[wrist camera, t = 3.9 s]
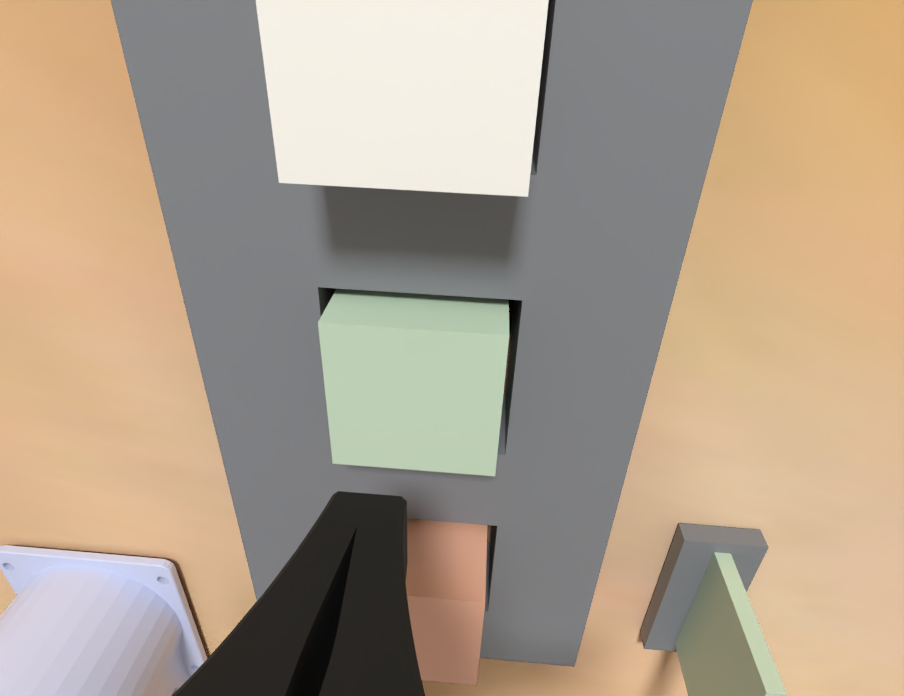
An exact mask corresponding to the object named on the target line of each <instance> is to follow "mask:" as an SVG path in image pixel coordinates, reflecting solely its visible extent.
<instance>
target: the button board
mask: <svg viewBox="0 0 904 696" xmlns="http://www.w3.org/2000/svg"><path fill="white" fill-rule="evenodd" d="M752 1H753V0H549V2H548V12H547V21H546V31H545V40H544V50H543V59H542V69H541V78H540V88H539V97H538V107H537V116H536V126H535V135H534V145H533V154H532V164H531V173H530V183H529V192H528V197H523V196H505V195H487V194H469V193H451V192H433V191H415V190H397V189H379V188H361V187H343V186H325V185H308V184H290V183H279V179H278V171H277V164H276V156H275V148H274V140H273V132H272V124H271V117H270V109H269V101H268V93H267V85H266V78H265V70H264V62H263V54H262V46H261V39H260V31H259V23H258V15H257V7H256V0H111V4H112V8H113V12H114V16H115V20H116V24H117V28H118V32H119V36H120V40H121V45H122V49H123V53H124V57H125V61H126V65H127V69H128V73H129V77H130V82H131V86H132V90H133V94H134V98H135V102H136V106H137V110H138V114H139V119H140V123H141V127H142V131H143V135H144V139H145V143H146V147H147V151H148V155H149V160H150V164H151V168H152V172H153V176H154V180H155V184H156V188H157V192H158V197H159V201H160V205H161V209H162V213H163V217H164V221H165V225H166V229H167V234H168V238H169V242H170V246H171V250H172V254H173V258H174V262H175V266H176V270H177V275H178V279H179V283H180V287H181V291H182V295H183V299H184V303H185V307H186V312H187V316H188V320H189V324H190V328H191V332H192V336H193V340H194V344H195V349H196V353H197V357H198V361H199V365H200V369H201V373H202V377H203V381H204V385H205V390H206V394H207V398H208V402H209V406H210V410H211V414H212V418H213V422H214V427H215V431H216V435H217V439H218V443H219V447H220V451H221V455H222V459H223V464H224V468H225V472H226V476H227V480H228V484H229V488H230V492H231V496H232V500H233V505H234V509H235V513H236V517H237V521H238V525H239V529H240V533H241V537H242V542H243V546H244V550H245V554H246V558H247V562H248V566H249V570H250V574H251V579H252V583H253V587H254V591H255V595H256V599H257V601H258V599H259V598H260V597H261V596H262V595H263V593H264V592H265V591H266V589H267V588H268V587H269V586H270V584H271V583H272V582H273V580H274V579H275V578H276V576H277V575H278V574H279V572H280V571H281V570H282V568H283V567H284V566H285V564H286V563H287V562H288V560H289V559H290V558H291V556H292V555H293V554H294V552H295V551H296V550H297V548H298V547H299V545H300V544H301V543H302V541H303V540H304V538H305V537H306V535H307V534H308V533H309V531H310V530H311V528H312V527H313V525H314V524H315V522H316V521H317V519H318V518H319V516H320V514H321V513H322V511H323V510H324V508H325V507H326V505H327V503H328V502H329V500H330V498H331V497H332V495H333V494H335V493H336V492H337V491H343V492H355V493H368V494H380V495H393V496H402V497H403V498H404V499H405V500H406V501H407V519H419V520H431V521H443V522H456V523H468V524H480V525H491V534H490V543H487V560H486V594H485V610H484V619H483V629H482V638H481V648H480V657H479V658H486V659H497V660H507V661H518V662H529V663H540V664H550V665H561V666H572V667H574V666H575V662H576V658H577V655H578V651H579V647H580V644H581V640H582V636H583V632H584V629H585V625H586V621H587V617H588V614H589V610H590V606H591V602H592V599H593V595H594V591H595V587H596V584H597V580H598V576H599V573H600V569H601V565H602V561H603V558H604V554H605V550H606V546H607V543H608V539H609V535H610V531H611V528H612V524H613V520H614V517H615V513H616V509H617V505H618V502H619V498H620V494H621V490H622V487H623V483H624V479H625V475H626V472H627V468H628V464H629V461H630V457H631V453H632V449H633V446H634V442H635V438H636V434H637V431H638V427H639V423H640V419H641V416H642V412H643V408H644V405H645V401H646V397H647V393H648V390H649V386H650V382H651V378H652V375H653V371H654V367H655V363H656V360H657V356H658V352H659V349H660V345H661V341H662V337H663V334H664V330H665V326H666V322H667V319H668V315H669V311H670V307H671V304H672V300H673V296H674V293H675V289H676V285H677V281H678V278H679V274H680V270H681V266H682V263H683V259H684V255H685V251H686V248H687V244H688V240H689V237H690V233H691V229H692V225H693V222H694V218H695V214H696V210H697V207H698V203H699V199H700V195H701V192H702V188H703V184H704V181H705V177H706V173H707V169H708V166H709V162H710V158H711V154H712V151H713V147H714V143H715V139H716V136H717V132H718V128H719V125H720V121H721V117H722V113H723V110H724V106H725V102H726V98H727V95H728V91H729V87H730V83H731V80H732V76H733V72H734V68H735V65H736V61H737V57H738V54H739V50H740V46H741V42H742V39H743V35H744V31H745V27H746V24H747V20H748V16H749V12H750V9H751V5H752ZM336 289H353V290H368V291H384V292H399V293H415V294H431V295H446V296H462V297H477V298H493V299H509V300H515V301H514V310H513V320H512V330H511V339H510V349H509V359H508V369H507V378H506V388H505V393H504V394H503V404H502V414H501V424H500V433H499V443H498V453H497V463H496V473H495V476H485V475H472V474H459V473H446V472H433V471H421V470H408V469H395V468H382V467H370V466H357V465H344V464H333V461H332V452H331V443H330V433H329V424H328V414H327V405H326V395H325V386H324V376H323V367H322V357H321V348H320V338H319V329H318V321H319V320H320V318H321V316H322V314H323V312H324V310H325V309H326V307H327V305H328V303H329V301H330V300H331V298H332V296H333V294H334V292H335V291H336Z"/></svg>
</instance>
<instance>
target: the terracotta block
mask: <svg viewBox="0 0 904 696" xmlns="http://www.w3.org/2000/svg"><path fill="white" fill-rule="evenodd" d="M407 558H408V563H407V573H406V591H407V600H408V608H409V615H410V622H411V628H412V634H413V639H414V645H415V650H416V656H417V661H418V666H419V671H420V675H421V680H423V681H434V682H444V683H455V684H465V685H476V686H477V676H478V667H479V657H480V648H481V638H482V629H483V619H484V610H485V594H486V560H487V525H480V524H468V523H456V522H443V521H431V520H419V519H407Z"/></svg>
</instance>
